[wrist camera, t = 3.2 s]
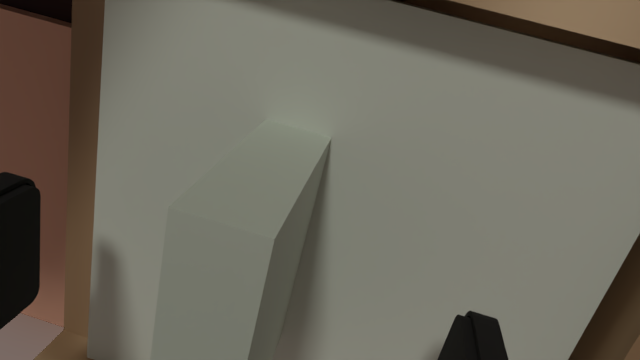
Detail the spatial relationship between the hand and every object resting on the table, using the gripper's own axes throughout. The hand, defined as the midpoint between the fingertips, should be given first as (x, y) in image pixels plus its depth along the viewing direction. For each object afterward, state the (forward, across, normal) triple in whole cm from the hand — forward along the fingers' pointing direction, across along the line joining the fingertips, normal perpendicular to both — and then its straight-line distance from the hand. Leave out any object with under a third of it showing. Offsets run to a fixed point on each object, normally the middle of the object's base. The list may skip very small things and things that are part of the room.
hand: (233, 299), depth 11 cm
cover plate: (+3, -2, 0) cm, 4 cm away
